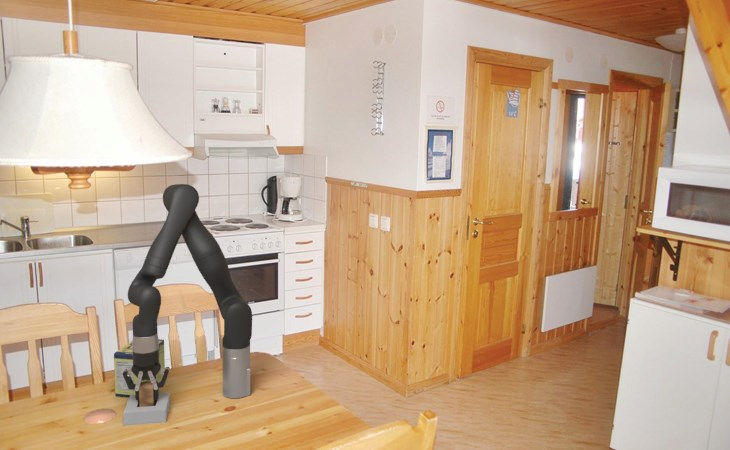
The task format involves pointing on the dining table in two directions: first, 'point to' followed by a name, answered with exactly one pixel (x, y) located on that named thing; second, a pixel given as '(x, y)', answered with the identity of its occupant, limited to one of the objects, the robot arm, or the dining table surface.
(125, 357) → the protein box
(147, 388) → the walnut block
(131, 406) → the pocket holder
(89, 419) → the coaster
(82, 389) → the dining table surface
